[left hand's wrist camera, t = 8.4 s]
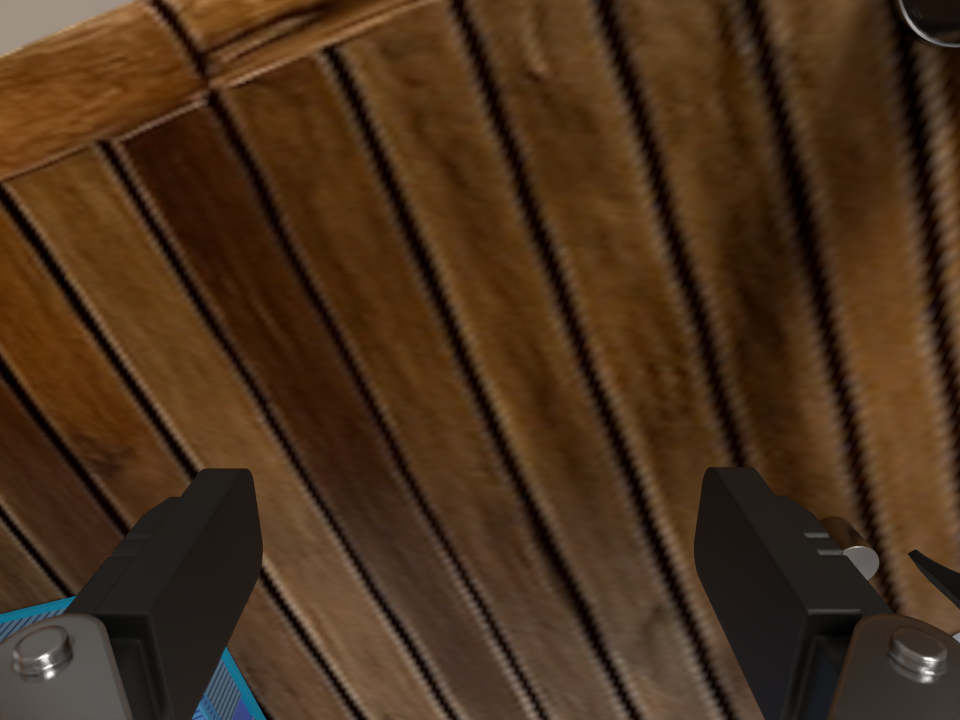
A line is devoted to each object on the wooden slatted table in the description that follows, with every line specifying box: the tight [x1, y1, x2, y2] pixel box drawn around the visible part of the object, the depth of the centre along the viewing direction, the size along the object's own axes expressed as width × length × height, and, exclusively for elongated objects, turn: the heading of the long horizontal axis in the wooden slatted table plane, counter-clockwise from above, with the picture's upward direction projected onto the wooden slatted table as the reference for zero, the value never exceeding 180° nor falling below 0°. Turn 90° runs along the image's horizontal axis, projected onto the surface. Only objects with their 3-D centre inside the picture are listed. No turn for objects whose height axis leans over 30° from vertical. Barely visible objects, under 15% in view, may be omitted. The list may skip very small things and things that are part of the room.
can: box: [820, 517, 879, 580], centre depth 54 cm, size 4×4×4 cm
